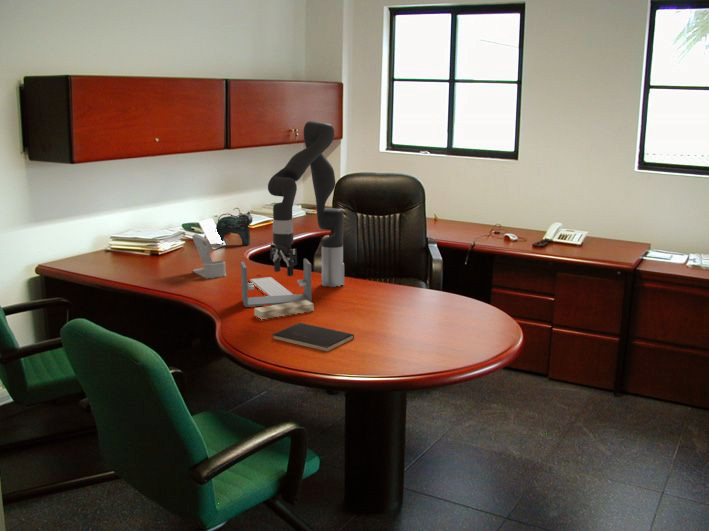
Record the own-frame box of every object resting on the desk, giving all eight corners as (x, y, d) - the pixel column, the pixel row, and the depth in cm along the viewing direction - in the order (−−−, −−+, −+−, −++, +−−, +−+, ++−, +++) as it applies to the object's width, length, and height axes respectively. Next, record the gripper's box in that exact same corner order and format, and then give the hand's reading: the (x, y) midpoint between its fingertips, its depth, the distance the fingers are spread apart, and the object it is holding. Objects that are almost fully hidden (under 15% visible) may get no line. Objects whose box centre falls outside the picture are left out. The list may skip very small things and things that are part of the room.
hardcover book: (327, 353, 253) (327, 346, 252) (272, 340, 265) (272, 334, 264) (354, 340, 266) (354, 333, 265) (300, 328, 278) (300, 322, 277)
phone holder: (227, 276, 348) (226, 237, 344) (206, 279, 343) (205, 239, 339) (212, 268, 362) (210, 230, 358) (191, 271, 357) (190, 233, 353)
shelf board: (306, 308, 301) (306, 299, 300) (313, 312, 296) (313, 303, 295) (254, 317, 290) (254, 308, 289) (261, 321, 285) (260, 312, 284)
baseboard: (265, 301, 312) (293, 298, 316) (265, 294, 311) (293, 291, 316) (244, 282, 339) (270, 280, 344) (244, 276, 338) (270, 273, 343)
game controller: (253, 244, 415) (252, 207, 411) (249, 246, 409) (248, 209, 404) (218, 242, 419) (217, 206, 414) (214, 245, 413) (212, 208, 408)
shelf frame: (306, 296, 316) (306, 258, 312) (311, 303, 306) (311, 264, 303) (242, 300, 310) (240, 262, 306) (244, 307, 300) (243, 267, 296)
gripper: (263, 229, 289) (264, 271, 292) (285, 235, 278) (286, 279, 282) (280, 227, 293) (281, 268, 297) (302, 232, 283) (303, 275, 286)
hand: (283, 273), depth 289 cm, fingers open, 8 cm apart
